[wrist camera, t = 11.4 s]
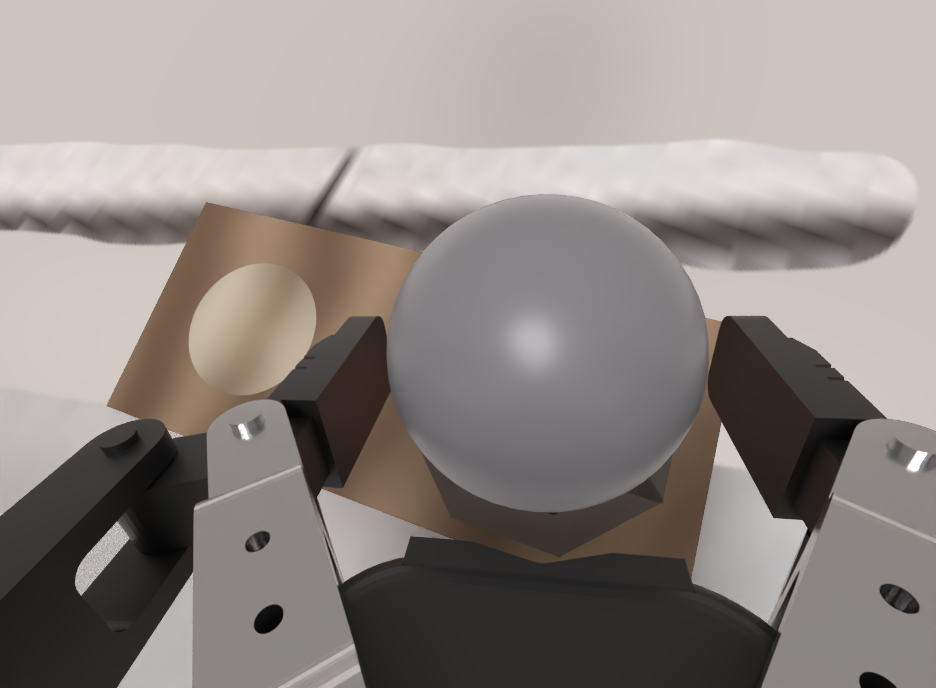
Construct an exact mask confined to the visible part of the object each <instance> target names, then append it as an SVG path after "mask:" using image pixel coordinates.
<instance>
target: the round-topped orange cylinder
mask: <svg viewBox="0 0 936 688" xmlns="http://www.w3.org/2000/svg"><path fill="white" fill-rule="evenodd" d="M386 357H387V369H388V379H389V384H390V388H391V392H392V397H393V400H394V403H395V405H396V408H397V411H398V413H399V416H400V418H401V420H402V422H403V424H404V426H405V428H406V429H407V431H408V433H409V435H410V436H411V438H412V439H413V441H414V442H415V443H416V445H417V446H418V448H419V449H420V450H421V452H422V453H423V454H424V455H425V457H426V458H427V459H428V460H429V461H430V462H431V463H432V464H433V465H434V466H435V467H436V468H437V469H438V470H439V471H440V472H441V473H443V474H444V475H445V476H446V477H448V478H449V479H450V480H451V481H453V482H454V483H455V484H457V485H458V486H460V487H462V488H463V489H465V490H467V491H468V492H470V493H472V494H473V495H476V496H478V497H480V498H483V499H485V500H487V501H489V502H492V503H495V504H498V505H502V506H505V507H509V508H512V509H517V510H524V511H531V512H565V511H572V510H580V509H584V508H588V507H591V506H595V505H599V504H602V503H605V502H607V501H609V500H612V499H614V498H616V497H618V496H621V495H623V494H625V493H627V492H628V491H630V490H631V489H633V488H635V487H636V486H638V485H639V484H641V483H643V482H644V481H645V480H646V479H648V478H649V477H650V476H651V475H652V474H654V473H655V472H656V471H657V470H658V469H659V468H661V467H662V465H663V464H664V463H665V462H666V461H667V460H668V459H669V457H670V456H671V455H672V454H673V453H674V452H675V451H676V449H677V448H678V447H679V445H680V444H681V442H682V441H683V439H684V438H685V436H686V435H687V433H688V432H689V430H690V428H691V426H692V424H693V422H694V420H695V417H696V415H697V413H698V411H699V409H700V406H701V402H702V399H703V395H704V392H705V388H706V382H707V375H708V367H709V341H708V332H707V326H706V320H705V315H704V312H703V309H702V306H701V302H700V300H699V296H698V295H697V292H696V290H695V288H694V286H693V284H692V282H691V280H690V278H689V276H688V275H687V273H686V272H685V270H684V268H683V267H682V265H681V264H680V262H679V261H678V259H677V258H676V257H675V256H674V254H673V253H672V252H671V251H670V250H669V249H668V247H667V246H666V245H665V244H664V243H663V242H662V241H661V240H660V239H659V238H658V237H657V236H656V235H655V234H653V233H652V232H651V231H650V230H649V229H648V228H646V227H645V226H643V225H642V224H641V223H639V222H638V221H636V220H635V219H633V218H632V217H630V216H628V215H626V214H624V213H622V212H620V211H618V210H616V209H615V208H612V207H609V206H607V205H604V204H601V203H599V202H596V201H592V200H588V199H584V198H580V197H574V196H566V195H549V194H539V195H529V196H520V197H516V198H511V199H507V200H502V201H499V202H496V203H494V204H491V205H488V206H485V207H483V208H481V209H479V210H476V211H474V212H472V213H470V214H468V215H466V216H465V217H463V218H462V219H460V220H459V221H457V222H455V223H454V224H452V225H451V226H450V227H449V228H447V229H446V230H445V231H444V232H442V233H441V234H440V235H439V236H438V237H437V238H436V239H435V240H434V241H433V242H432V243H431V244H430V245H429V246H428V247H427V248H426V249H425V250H424V251H423V253H422V254H421V255H420V257H419V258H418V259H417V260H416V262H415V263H414V265H413V266H412V268H411V270H410V271H409V273H408V275H407V276H406V278H405V280H404V282H403V284H402V286H401V288H400V290H399V293H398V295H397V297H396V300H395V303H394V306H393V310H392V313H391V316H390V321H389V327H388V334H387V353H386Z"/></svg>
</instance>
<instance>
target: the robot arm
mask: <svg viewBox="0 0 936 688" xmlns="http://www.w3.org/2000/svg"><path fill="white" fill-rule="evenodd" d="M386 353H387V335H386V330H385V325H384V322H383V319H382V318H381V317H380V316H350V317H349V318H348V319H347V320H346V321H345V323H344V324H343V325H342V326H341V327H340V329H339V330H338V331H337V332H336V333H335V335H330V336H328V337H326V338H325V339H323V340H321V341H320V342H318V343H317V344H315V345H314V346H313V347H312V348H311V349H310V350H309V351H308V353H307V354H306V355H305V356H304V359H301V360H300V362H299V363H298V364H297V365H296V366H295V369H293V370H292V371H291V372H290V373H289V374H288V375H287V376H286V378H285V379H284V380H283V381H282V382H281V383H280V384H279V385H278V387H277V388H276V389H275V390H274V391H273V392H272V393H271V395H270V396H269V397H268V398H267V399H266V400H255V401H250V402H246V403H243V404H241V405H238V406H236V407H233V408H231V409H230V410H228V411H226V412H225V413H223V414H222V415H220V416H219V417H218V418H217V419H216V420H215V421H214V422H213V423H212V424H211V425H210V427H209V429H208V431H207V432H206V433H200V434H195V435H189V436H184V437H178V438H173V439H172V438H171V436H170V434H169V432H168V430H167V428H166V427H165V425H164V423H163V422H161V421H159V420H156V419H140V420H135V421H131V422H127V423H124V424H121V425H119V426H116V427H114V428H112V429H110V430H107V431H106V432H104V433H102V434H100V435H99V436H97V437H96V438H94V439H93V440H91V441H90V442H89V443H87V444H86V445H85V446H84V447H83V448H81V449H80V450H79V451H78V452H77V453H75V454H74V455H73V456H72V457H71V458H70V459H68V460H67V461H66V462H65V463H64V464H62V465H61V466H60V467H59V468H58V469H56V470H55V471H54V472H53V473H52V474H50V475H49V476H48V477H47V478H46V479H44V480H43V481H42V482H41V483H40V484H38V485H37V486H36V487H35V488H34V489H33V490H31V491H30V492H29V493H28V494H27V495H25V496H24V497H23V498H22V499H21V500H19V501H18V502H17V503H16V504H15V505H13V506H12V507H11V508H10V509H9V510H7V511H6V512H5V513H4V514H3V515H1V516H0V688H117V687H118V685H119V684H120V682H121V681H122V679H123V678H124V676H125V674H126V673H127V671H128V670H129V668H130V667H131V665H132V664H133V662H134V661H135V659H136V658H137V656H138V655H139V653H140V652H141V650H142V649H143V647H144V646H145V644H146V643H147V641H148V639H149V638H150V636H151V635H152V633H153V632H154V630H155V629H156V627H157V626H158V624H159V623H160V621H161V620H162V618H163V617H164V615H165V614H166V612H167V611H168V609H169V608H170V606H171V604H172V603H173V601H174V600H175V598H176V597H177V595H178V594H179V592H180V591H181V589H182V588H183V586H184V585H185V583H186V582H187V580H188V579H189V577H190V576H191V574H192V573H193V686H192V688H936V431H933V430H931V429H928V428H926V427H923V426H920V425H916V424H913V423H909V422H905V421H900V420H893V419H887V418H886V417H885V416H884V415H883V414H882V413H881V412H879V410H878V409H877V408H875V407H874V406H873V405H872V404H871V403H870V402H869V401H868V400H867V399H866V398H865V397H864V396H863V395H862V394H861V393H860V392H859V391H858V390H857V389H856V388H855V387H854V386H852V384H850V383H849V382H848V381H844V377H843V376H842V375H841V374H840V373H839V372H838V371H837V370H836V369H835V368H831V364H830V363H828V362H827V361H826V360H825V359H824V358H823V357H822V356H821V355H820V354H819V353H818V352H817V351H816V350H814V349H812V348H810V347H809V346H807V345H805V344H803V343H801V342H799V341H797V340H795V339H793V338H787V337H786V336H785V335H784V334H783V333H782V331H781V330H779V329H778V327H777V326H776V325H775V324H774V323H773V322H772V321H771V320H770V319H769V318H768V317H766V316H726V317H725V318H724V319H723V320H722V322H721V325H720V328H719V332H718V336H717V340H716V345H715V349H714V353H713V357H712V361H711V365H710V369H709V374H708V394H709V398H710V401H711V403H712V405H713V406H714V408H715V410H716V412H717V414H718V416H719V418H720V419H721V421H722V423H723V425H724V427H725V429H726V431H727V432H728V434H729V436H730V438H731V440H732V442H733V444H734V445H735V447H736V449H737V451H738V453H739V455H740V456H741V458H742V460H743V462H744V464H745V466H746V468H747V469H748V471H749V473H750V475H751V477H752V479H753V481H754V482H755V484H756V486H757V488H758V490H759V492H760V494H761V495H762V497H763V499H764V501H765V503H766V505H767V507H768V508H769V510H770V512H771V514H772V516H773V518H781V519H797V520H803V521H804V523H805V525H806V526H807V530H806V532H805V534H804V537H803V539H802V541H801V543H800V546H799V548H798V551H797V553H796V556H795V558H794V561H793V563H792V565H791V568H790V570H789V573H788V575H787V578H786V580H785V583H784V585H783V588H782V590H781V593H780V595H779V598H778V600H777V603H776V605H775V607H774V610H773V612H772V615H771V617H770V619H769V622H768V624H767V623H766V622H765V621H763V620H762V619H761V618H759V617H758V616H756V615H755V614H753V613H752V612H750V611H749V610H747V609H745V608H744V607H742V606H741V605H739V604H737V603H735V602H733V601H732V600H730V599H728V598H726V597H724V596H722V595H720V594H718V593H716V592H713V591H711V590H709V589H706V588H704V587H701V586H698V585H695V584H692V581H691V578H690V574H689V571H688V568H687V565H686V561H685V559H682V558H670V557H658V556H646V555H633V554H621V553H608V554H601V555H595V556H589V557H582V558H576V559H570V560H564V561H557V562H551V563H537V562H533V561H530V560H527V559H524V558H521V557H518V556H515V555H512V554H509V553H506V552H503V551H500V550H497V549H494V548H491V547H488V546H485V545H482V544H479V543H476V542H473V541H462V540H450V539H437V538H425V537H413V536H411V537H410V540H409V544H408V547H407V550H406V554H405V557H404V558H399V559H394V560H391V561H387V562H384V563H381V564H378V565H376V566H373V567H371V568H368V569H366V570H364V571H362V572H360V573H359V574H357V575H355V576H353V577H351V578H350V579H348V580H347V581H345V582H344V580H343V577H342V574H341V571H340V568H339V564H338V561H337V558H336V555H335V552H334V549H333V545H332V542H331V539H330V536H329V533H328V530H327V527H326V523H325V520H324V517H323V514H322V511H321V508H320V505H319V502H318V499H317V496H318V494H319V493H320V491H321V489H322V487H331V488H343V487H344V485H345V483H346V481H347V479H348V477H349V475H350V473H351V471H352V469H353V467H354V465H355V463H356V461H357V459H358V457H359V455H360V453H361V451H362V449H363V447H364V445H365V443H366V441H367V439H368V437H369V435H370V433H371V430H372V428H373V426H374V424H375V422H376V420H377V418H378V416H379V414H380V412H381V410H382V408H383V406H384V404H385V402H386V400H387V398H388V396H389V394H390V392H391V388H390V384H389V379H388V369H387V357H386ZM117 521H118V522H119V524H120V525H121V527H122V528H123V529H124V531H125V532H126V534H127V535H128V536H129V538H130V539H129V540H128V541H127V543H126V544H125V545H124V546H123V547H122V549H121V550H120V551H119V552H118V553H117V554H116V556H115V557H114V558H113V559H112V560H111V562H110V563H109V564H108V565H107V566H106V567H105V569H104V570H103V571H102V572H101V573H100V575H99V576H98V577H97V578H96V579H95V580H94V582H93V583H92V584H91V585H90V586H89V588H88V589H87V590H86V591H85V592H84V593H83V595H82V596H81V595H80V594H79V593H78V591H77V590H76V587H75V576H76V572H77V569H78V567H79V565H80V563H81V561H82V560H83V558H84V557H85V556H86V555H87V554H88V553H89V551H90V550H91V549H92V548H93V547H94V546H95V545H96V544H97V543H98V542H99V540H100V539H101V538H102V537H103V536H104V535H105V534H106V533H107V532H108V531H109V529H110V528H111V527H112V526H113V525H114V524H115V523H116V522H117Z"/></svg>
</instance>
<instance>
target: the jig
mask: <svg viewBox="0 0 936 688" xmlns="http://www.w3.org/2000/svg"><path fill="white" fill-rule="evenodd" d="M422 253H423V252H419V251H414V250H410V249H406V248H402V247H397V246H393V245H389V244H384V243H380V242H376V241H371V240H367V239H363V238H358V237H354V236H350V235H345V234H341V233H337V232H332V231H328V230H324V229H319V228H315V227H311V226H307V225H302V224H298V223H294V222H289V221H285V220H281V219H276V218H272V217H268V216H263V215H259V214H255V213H250V212H246V211H242V210H237V209H233V208H229V207H224V206H220V205H216V204H212V203H207V202H206V204H205V206H204V208H203V210H202V212H201V214H200V216H199V218H198V220H197V222H196V224H195V226H194V228H193V230H192V232H191V234H190V236H189V239H188V241H187V243H186V245H185V247H184V249H183V251H182V253H181V255H180V257H179V259H178V261H177V263H176V265H175V267H174V269H173V271H172V273H171V275H170V277H169V279H168V281H167V283H166V286H165V287H164V290H163V292H162V294H161V296H160V298H159V300H158V302H157V304H156V306H155V308H154V310H153V312H152V314H151V316H150V318H149V320H148V322H147V324H146V326H145V329H144V331H143V332H142V334H141V336H140V339H139V341H138V343H137V345H136V347H135V349H134V351H133V353H132V355H131V357H130V359H129V361H128V363H127V365H126V367H125V369H124V372H123V374H122V375H121V377H120V379H119V381H118V383H117V385H116V388H115V390H114V392H113V394H112V396H111V398H110V400H109V402H108V404H107V406H108V407H111V408H113V409H116V410H119V411H121V412H124V413H126V414H129V415H132V416H134V417H137V418H139V419H156V420H159V421H161V422H163V423H164V425H165V427H166V428H167V429H168V430H171V431H173V432H176V433H178V434H181V435H184V436H189V435H195V434H200V433H206V432H207V431H208V429H209V427H210V425H211V424H212V423H213V422H214V421H215V420H216V419H217V418H218V417H219V416H220V415H222V414H223V413H225V412H226V411H228V410H230V409H231V408H233V407H236V406H238V405H241V404H243V403H246V402H250V401H255V400H266V399H267V398H268V397H269V396H270V395H271V393H272V392H273V391H274V390H275V389H276V388H277V387H278V385H279V384H280V383H281V382H282V381H283V380H284V379H285V378H286V376H287V375H288V374H289V373H290V372H291V371H292V370H293V369H295V366H296V365H297V364H298V363H299V362H300V360H301V359H304V356H305V355H306V354H307V353H308V351H309V350H310V349H311V348H312V347H313V346H314V345H315V344H317V343H318V342H320V341H321V340H323V339H325V338H326V337H328V336H330V335H335V333H336V332H337V331H338V330H339V329H340V327H341V326H342V325H343V324H344V323H345V321H346V320H347V319H348V318H349V317H350V316H380V317H381V318H382V319H383V322H384V325H385V330H386V335H387V334H388V327H389V321H390V316H391V313H392V310H393V306H394V303H395V300H396V297H397V295H398V293H399V290H400V288H401V286H402V284H403V282H404V280H405V278H406V276H407V275H408V273H409V271H410V270H411V268H412V266H413V265H414V263H415V262H416V260H417V259H418V258H419V257H420V255H421V254H422ZM705 320H706V326H707V332H708V341H709V367H708V374H709V369H710V365H711V361H712V357H713V353H714V349H715V345H716V340H717V336H718V332H719V328H720V325H721V321H716V320H712V319H708V318H705ZM720 426H721V419H720V418H719V416H718V414H717V412H716V410H715V408H714V406H713V405H712V403H711V401H710V398H709V394H708V375H707V382H706V388H705V392H704V395H703V399H702V402H701V406H700V409H699V411H698V413H697V415H696V417H695V420H694V422H693V424H692V426H691V428H690V430H689V432H688V433H687V435H686V436H685V438H684V439H683V441H682V442H681V444H680V445H679V447H678V448H677V449H676V451H675V452H674V453H673V454H672V455H671V456H670V457H669V459H668V460H667V461H666V462H665V463H664V464H663V465H662V467H661V468H659V469H658V470H657V471H656V472H655V473H654V474H652V475H651V476H650V477H649V478H648V479H646V480H645V481H644V482H643V483H641V484H639V485H638V486H636V487H635V488H633V489H631V490H630V491H628V492H627V493H625V494H623V495H621V496H618V497H616V498H614V499H612V500H609V501H607V502H605V503H602V504H599V505H595V506H591V507H588V508H584V509H580V510H572V511H565V512H531V511H524V510H517V509H512V508H509V507H505V506H502V505H498V504H495V503H492V502H489V501H487V500H485V499H483V498H480V497H478V496H476V495H473V494H472V493H470V492H468V491H467V490H465V489H463V488H462V487H460V486H458V485H457V484H455V483H454V482H453V481H451V480H450V479H449V478H448V477H446V476H445V475H444V474H443V473H441V472H440V471H439V470H438V469H437V468H436V467H435V466H434V465H433V464H432V463H431V462H430V461H429V460H428V459H427V458H426V457H425V455H424V454H423V453H422V452H421V450H420V449H419V448H418V446H417V445H416V443H415V442H414V441H413V439H412V438H411V436H410V435H409V433H408V431H407V429H406V428H405V426H404V424H403V422H402V420H401V418H400V416H399V413H398V411H397V408H396V405H395V403H394V400H393V397H392V392H390V394H389V396H388V398H387V400H386V402H385V404H384V406H383V408H382V410H381V412H380V414H379V416H378V418H377V420H376V422H375V424H374V426H373V428H372V430H371V433H370V435H369V437H368V439H367V441H366V443H365V445H364V447H363V449H362V451H361V453H360V455H359V457H358V459H357V461H356V463H355V465H354V467H353V469H352V471H351V473H350V475H349V477H348V479H347V481H346V483H345V485H344V487H343V488H331V487H322V489H324V490H327V491H330V492H332V493H335V494H337V495H340V496H343V497H345V498H348V499H350V500H353V501H356V502H358V503H361V504H363V505H366V506H369V507H371V508H374V509H376V510H379V511H382V512H384V513H387V514H389V515H392V516H395V517H397V518H400V519H402V520H405V521H408V522H410V523H413V524H415V525H418V526H421V527H423V528H426V529H428V530H431V531H434V532H436V533H439V534H441V535H444V536H447V537H449V538H452V539H454V540H462V541H473V542H476V543H479V544H482V545H485V546H488V547H491V548H494V549H497V550H500V551H503V552H506V553H509V554H512V555H515V556H518V557H521V558H524V559H527V560H530V561H533V562H537V563H551V562H557V561H564V560H570V559H576V558H582V557H589V556H595V555H601V554H608V553H621V554H633V555H646V556H658V557H670V558H682V559H685V561H686V565H687V568H688V571H689V574H690V578H691V576H692V571H693V566H694V561H695V556H696V550H697V545H698V540H699V535H700V530H701V525H702V519H703V514H704V509H705V504H706V499H707V494H708V488H709V483H710V478H711V473H712V468H713V463H714V457H715V452H716V447H717V442H718V436H719V432H720Z"/></svg>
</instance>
